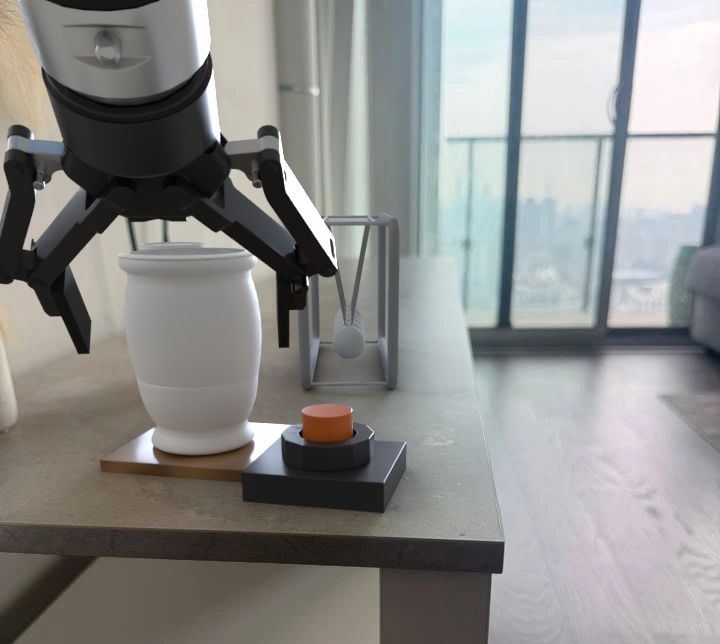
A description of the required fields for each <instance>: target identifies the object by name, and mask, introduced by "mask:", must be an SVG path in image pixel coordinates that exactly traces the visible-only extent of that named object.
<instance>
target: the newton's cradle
mask: <svg viewBox="0 0 720 644" xmlns="http://www.w3.org/2000/svg"><path fill="white" fill-rule="evenodd" d="M320 217H321V219H322V220H323V222H324V223H325V225H326V227H327V228H328V230H329V231H330V233H331V234H332V235H333V232H332V227H336V226H337V227H339V226H341V227H342V226H343V227H346V226H348V227H349V226H352V227H353V226H358V227H359V226H363V227H364V228H363V233H362V234H363V235H362V240H361V246H360V251H359V256H358V261H357V262H358V263H357V268H356V274H355V279H354V284H353V289H352V295H351V302H350V304H347V302H346V297H345V292H344V286H343V282H342V277H341V272H340V266H339V262H338V258H337V256H336V262H337V273H336V274H335V275H334V278H335V284H336V289H337V294H338V299H339V303H340V309H339V310H338V311H337V312H336V314H335V316H334V324H333V333H332V340H321V318H320V317H321V315H320V314H321V313H320V275H319V274H315V275H313V276H311V277H310V303H311V343H310V312H309V309H310V308H309V307H310V306H309V290H308V291H307V301H306V306H305V308H304V309H303V310H297V326H298V327H297V328H298V329H297V330H298V331H297V332H298V356H299V357H298V359H299V360H298V361H299V380H300V386H301V387H300V388H301V389H303V390H305V391H308V390H311V388H312V387H361V386H362V387H366V386H369V387H371V386H373V387H375V386H379V387H380V386H386V387H387V388H388V389H390V390H395V389H396V388H397V386H398V384H399V383H398V382H399V381H398V380H399V330H400V329H399V328H400V327H399V323H400V322H399V321H400V316H399V315H400V257H401V255H400V251H401V249H400V247H401V246H400V244H401V241H400V240H401V232H400V231H401V229H400V221H399V219H398V218H396V217H395V216H392V215H390V214H387V213H385V212H380V213H379V214H378V215H377V214H376V215H374V214H373V215H370V214H369V215H366V214H365V215H320ZM375 219H376V220H377V221H376V220H375ZM371 226H377V340H375V339H374V340H373V339H372V340H368V339H367V340H366V338H365V331H364V330H365V329H364V322H363V315H362V313H361V312H360V311H359V309H357V308H356V307H357V302H358V297H359V296H358V295H359V290H360V285H361V279H362V273H363V268H364V264H365V258H366V251H367V246H368V241H369V234H370V229H371ZM387 231H388V253H387ZM387 255H388V257H387ZM387 258H388V261H387ZM387 263H388V264H387ZM387 267H388V268H387ZM387 270H388V271H387ZM387 273H388V274H387ZM387 275H388V276H387ZM386 287H387V288H386ZM386 295H387V298H386ZM386 299H387V302H386ZM386 303H387V305H386ZM386 306H387V313H386ZM386 314H387V334H386ZM386 335H387V336H386ZM386 338H387V339H386ZM321 344H326V345H327V344H332V348H333V350H334V352H335V353H336V354H337V355H338V356H339V357H340V358H342V359H346V360H351V359H355V358H357V357H358V356H360V355H361V354H362V353H363V351H364V349H365V347H366V344H378V349H379V354H380V359H381V364H382V367H383V374H384V378H385V381H335V382H333V381H331V382H330V381H328V382H327V381H326V382H323V381H321V382H319V381H318V382H315V381H314V380H313V379H314V375H315V370H316V366H317V365H316V364H317V359H318V353H319V349H320V345H321ZM313 381H314V382H313Z"/></svg>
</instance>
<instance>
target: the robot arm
mask: <svg viewBox="0 0 720 644" xmlns="http://www.w3.org/2000/svg"><path fill="white" fill-rule="evenodd" d="M16 1H17V4H18V8H19V10H20V12H21V13H20V14H21V16H22V20H23V22H24V25H25V28H26V31H27V34H28V37H29V39H30V43H31V46H32V48H33V51H34V54H35V56H36V59H37V60H36V61H37V62H38V64H39V65H40V72H41V78H42V81H43V84H44V87H45V90H46V93H47V96H48V99H49V102H50V105H51V108H52V111H53V115H54V118H55V121H56V123H57V127H58V130H59V132H60V135H61V138H62V141H57V140H47V139H46V140H45V139H37V138H35V137H34V136H35V135H34V133H33V131H32V130H31V129H30V128H29V127H27V126H25V125H22V124H12V125H10V126H9V127H8V129H7V133H6V142H5V148H4V149H5V150H4V157H3V165H2V166H3V172H4V175H5V179H6V182H7V186H8V188H7V192H6V196H5V200H4V205H3V209H2V212H1V217H0V285H11V284H12V283H14V280H15V281H20V282H24V283H26V284H27V286H28V287H29V288H30V289H31V290H33V291H34V294H35V296H36V297H37V300H38V302H39V304H40V306H41V308H42V310H43V312H44V313H45V314H46V315H47V316H48V317H51V318H52V317H54V318H56V317H61V319H62V322H63V323H64V326H65V328H66V331H67V332H68V335H69V337H70V340H71V342H72V344H73V346H74V348H75V351H76V353H77V355H90V353H91V337H92V318H91V316H90V314H89V311H88V309H87V306H86V303H85V301H84V298H83V296H82V293H81V291H80V288H79V286H78V283H77V281H76V278H75V276H74V273H73V271H72V268H71V266H70V265H71V263H72V262H73V260H75V258H77V256H78V255H79V254H80V253H81V252H82V251H83V250H84V248H85V247H86V246H87V245H88V244H89V242H91V240H92V239H93V238H94V237H95V236H96V235H97V234H99V235H102V234H104V233H105V231H107V229H108V228H109V227H110V226H111V224H113V222H115V220H116V219H117V218H118V217H119V216H120V217H123V218H126V219H128V223H145V222H150V221H151V222H152V221H155V220H160V221H161V220H162V221H167V222H172V223H175V222H176V223H177V222H178V223H183V222H186V223H187V222H188V218H190V217H193V218H194V219H195V220H196V221H198V222H199V223H201V224H202V225H203V226H204V227H206V228H207V229H208V230H209V231H211V232H213V233H214V234H216V233H219V232H222V233H223V234H224V235H226V236H227V237H229V238H230V239H231V240H233V241H234V242H235V243H236V244H238V245H239V246H240V247H242V249H245V250H247V251H249V252H250V253H251V254H253V255H254V256H255V257H257V260H259V261H261V262H262V263H263V264H264V265H265V266H267V267H269V268H270V269H272V271H274V272H275V292H276V293H275V295H276V296H275V302H276V304H275V305H276V306H275V307H276V327H277V342H278V349H288V348H290V311H298V310H303V309H304V308H305V306H306V301H307V291H308V292H309V289H310V286H309V279H311V276H313V275H315V274H319V277H323V278H327V279H328V278H333V277H335V274H336V273H337V262H338V261H337V262H336V257H337V253H336V243H335V238H334V236H333V233H332V234H331V233H330V231H329V230H328V228H327V227H326V225H325V223H324V222H323V220H322V219H321V217H320V216H321V215H320V214H319V212H318V210H317V209H316V207H315V206H314V204H313V203H312V201H311V199H310V198H309V196H308V195H307V194H306V192H305V190H304V189H303V187H302V185H301V184H300V182H299V180H298V179H297V178H296V176H295V174H294V173H293V171H292V169H291V168H290V167H289V165H288V163H287V162H286V160H285V158H284V153H283V145H282V139H281V138H282V137H281V133H280V130H279V129H278V128H277V127H276V126H274V125H272V124H264V125H262V126H261V127H259V128H258V130H257V132H256V138H251V139H241V140H240V139H239V140H230V141H229V140H228V138H227V137H226V136H225V135H224V133H223V132H222V130H221V128H220V123H219V115H218V106H217V94H216V86H215V76H214V75H215V74H214V65H213V58H212V54H211V51H210V44H211V34H210V24H209V23H210V22H209V13H208V12H209V11H208V3H207V0H16ZM232 170H238V171H240V172H242V173H243V174H244V175H245V176H246V178H247V180H249V181H250V182H251V185H252V187H253V188H255V189H262V191H263V195H264V197H265V199H266V201H267V203H268V205H269V206H270V207H271V209H272V210H273V212H274V213H275V214H276V217H278V219H279V220H280V222H281V223H282V225H283V226H282V225H281V224H280V223H279V222H277V221H276V220H275V219H274V218H273V217H271V216H270V215H269V214H268V213H267V212H265V211H264V210H263V209H261V208H260V207H259V206H258V205H257V204H255V203H254V202H253V200H251V199H250V198H249V197H247V196H246V195H245V194H244V193H243V192H241V191H240V190H239V189H238V188H236V186H235V184H234V182H233V180H232V178H231V177H230V175H231V172H232ZM59 171H63V173H64V174H65V175H66V177H67V178H69V179H70V181H72V182H73V183H74V184H76V185H77V186H79V187H78V189H77V191H76V192H75V193H74V195H73V196H71V198H70V200H68V202H67V203H66V204H65V205H64V207H63V208H62V209H61V210H60V212H59V213H58V214H57V216H56V217H55V218H54V219H53V220H52V222H51V223H50V224H49V225H48V227H47V228H46V229H45V230H44V231H43V232H42V234H41V235H40V236H39V237H38V239H37V240H36V241H35V239H34V238H31V241H30V248H29V249H25V248H24V246H25V245H24V244H25V242H26V239H27V234H28V233H29V227H30V225H31V222H32V217H33V214H34V210H35V206H36V198H37V191H43V190H44V189H45V185H48V184H49V183H51V181H52V178H53V174H55V173H56V172H59Z"/></svg>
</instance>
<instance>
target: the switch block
mask: <svg viewBox="0 0 720 644" xmlns="http://www.w3.org/2000/svg"><path fill="white" fill-rule="evenodd" d="M291 425H292V426H289V427H287V428H286V429H285V430H284V431H283V432H282V433H281V436H280V437H279V438H278V439H277V440H276V441H275V442H274V443H273V444H272V445H270V446H269V447H268V448H267V449H266V450H265V451H264V452H263V453H262V454H261V455H260V456H259V457H257V458H256V459H255V460H254V461H253V462H252V463H251V464H250V465H249V466H248V467H247V468H246V469H244V470H243V471H242V472H241V480H242V482H241V491H242V492H241V493H242V502H245V503H256V504H257V503H258V504H268V505H281V506H293V507H305V508H315V509H317V508H318V509H329V510H339V511H341V510H343V511H351V512H352V511H354V512H365V513H377V514H378V513H379V514H384V513H385V511H386V509H387V507H388V505H389V503H390V501H391V499H392V498H393V495H394V493H395V491H396V489H397V488H398V485H399V484H400V481H401V479H402V477H403V475H404V473H405V471H406V469H407V442H406V441H393V440H378V439H375V432H374V430H373V429H372V428H370V426H369V425H367V424H364V423H360V422H356V421H353V437H352V438H349V439H346V440H342V441H332V442H322V441H311V440H308V439H304V438H303V433H302V422H299V423H296V424H291Z"/></svg>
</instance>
